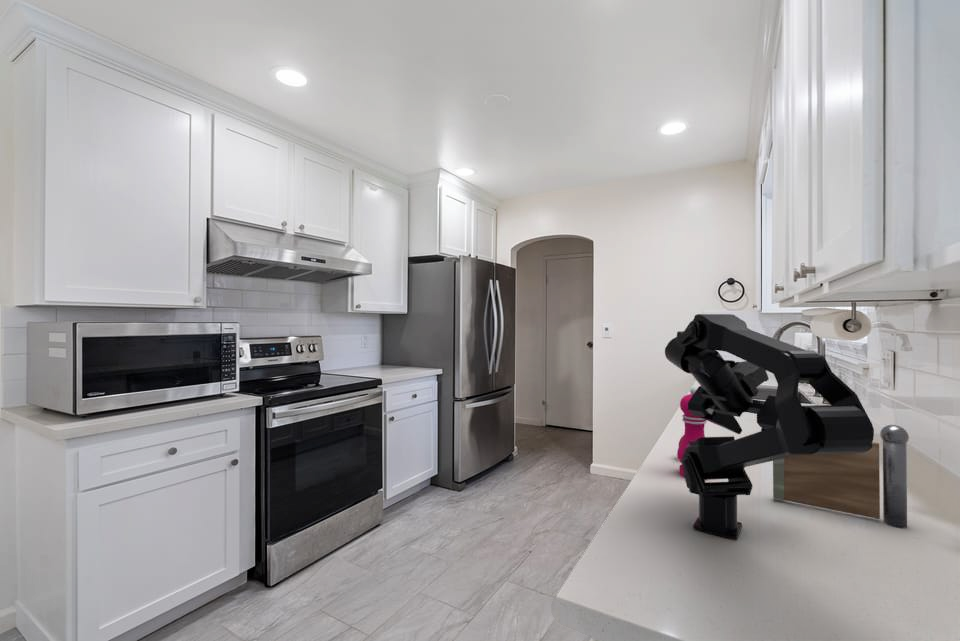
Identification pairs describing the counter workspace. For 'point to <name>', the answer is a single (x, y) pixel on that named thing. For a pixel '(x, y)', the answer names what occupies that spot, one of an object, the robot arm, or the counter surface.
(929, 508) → the counter surface
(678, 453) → the pepper mill
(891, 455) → the gate post
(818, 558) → the counter surface
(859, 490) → the gate
